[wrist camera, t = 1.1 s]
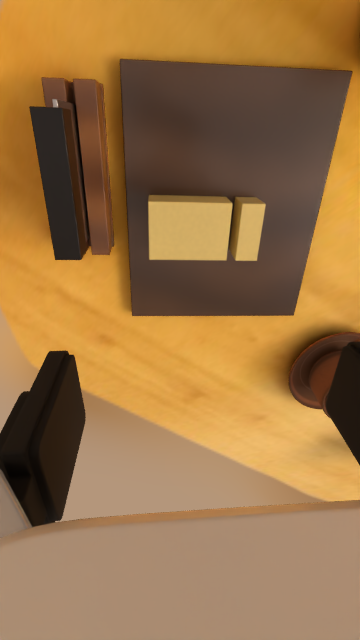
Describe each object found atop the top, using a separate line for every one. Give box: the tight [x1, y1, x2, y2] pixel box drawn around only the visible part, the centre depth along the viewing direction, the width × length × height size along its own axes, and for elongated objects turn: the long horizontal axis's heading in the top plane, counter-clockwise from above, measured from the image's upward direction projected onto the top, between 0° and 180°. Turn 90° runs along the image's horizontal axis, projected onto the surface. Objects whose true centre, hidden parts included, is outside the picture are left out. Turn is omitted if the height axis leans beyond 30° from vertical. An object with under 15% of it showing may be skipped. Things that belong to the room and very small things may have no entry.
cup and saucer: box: [289, 332, 360, 418], centre depth 40 cm, size 12×12×6 cm
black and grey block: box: [29, 99, 90, 260], centre depth 25 cm, size 10×2×9 cm, turn 178°
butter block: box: [148, 195, 233, 260], centre depth 29 cm, size 5×7×3 cm
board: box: [120, 59, 352, 316], centre depth 31 cm, size 22×18×1 cm
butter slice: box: [229, 197, 266, 261], centre depth 30 cm, size 5×2×3 cm, turn 178°
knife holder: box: [42, 77, 114, 255], centre depth 28 cm, size 13×4×3 cm, turn 178°
